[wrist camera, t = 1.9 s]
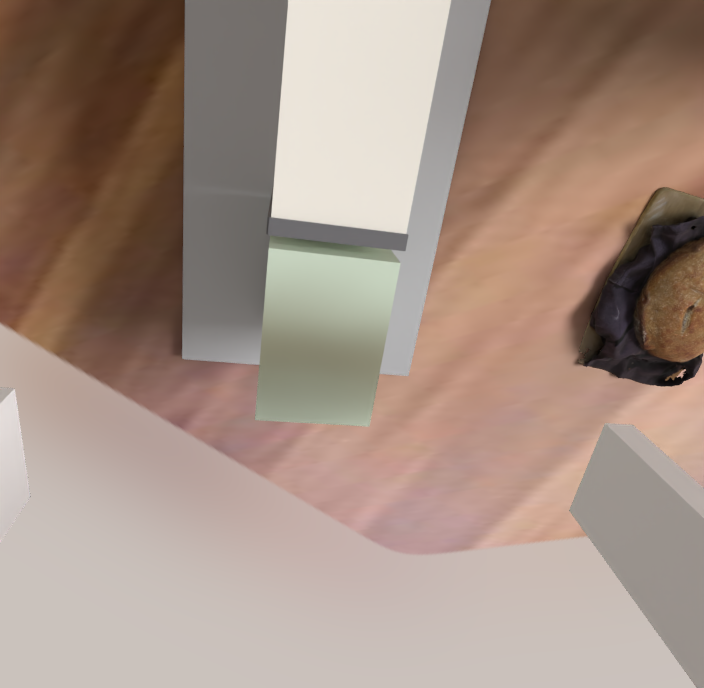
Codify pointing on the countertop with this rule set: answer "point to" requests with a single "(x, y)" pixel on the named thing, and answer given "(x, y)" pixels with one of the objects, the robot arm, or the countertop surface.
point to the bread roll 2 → (654, 297)
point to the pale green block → (323, 331)
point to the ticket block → (317, 149)
